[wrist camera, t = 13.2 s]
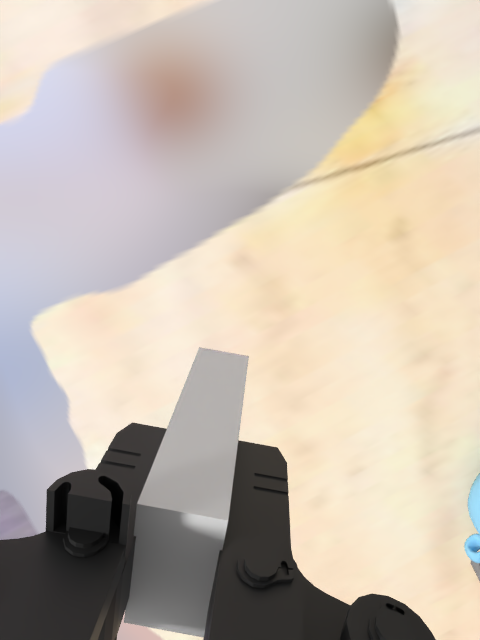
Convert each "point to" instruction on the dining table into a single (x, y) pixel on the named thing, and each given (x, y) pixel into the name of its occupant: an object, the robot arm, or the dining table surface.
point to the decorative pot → (474, 522)
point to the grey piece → (476, 568)
